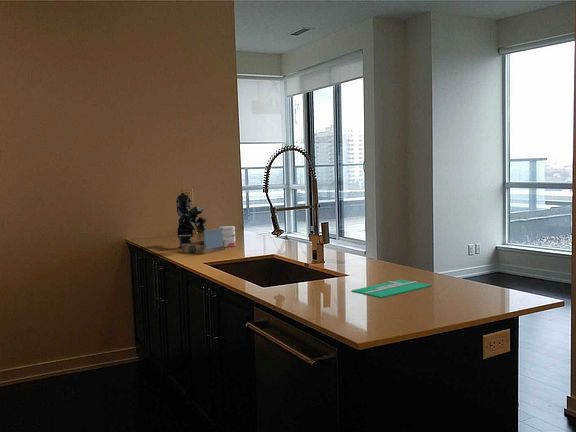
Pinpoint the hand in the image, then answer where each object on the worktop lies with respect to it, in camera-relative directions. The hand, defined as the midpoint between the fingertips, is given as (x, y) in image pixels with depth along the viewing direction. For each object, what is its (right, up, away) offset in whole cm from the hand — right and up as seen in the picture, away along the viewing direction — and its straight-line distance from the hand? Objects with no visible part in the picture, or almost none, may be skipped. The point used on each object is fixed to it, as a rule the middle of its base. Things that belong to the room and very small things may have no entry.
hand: (200, 230), depth 334 cm
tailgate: (+9, -10, -6) cm, 15 cm away
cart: (+2, -11, -1) cm, 12 cm away
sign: (+88, -19, -117) cm, 148 cm away
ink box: (+14, -10, +15) cm, 23 cm away
